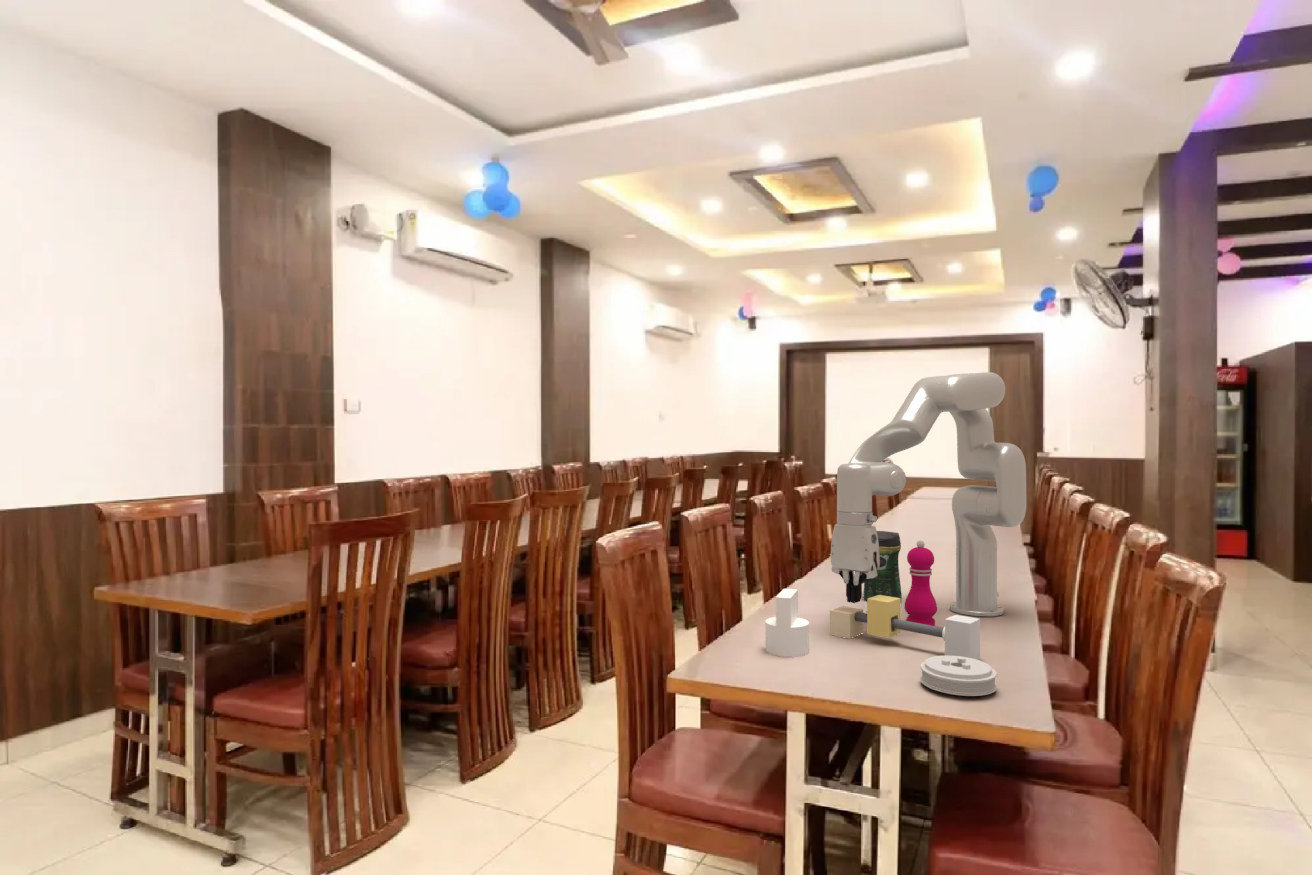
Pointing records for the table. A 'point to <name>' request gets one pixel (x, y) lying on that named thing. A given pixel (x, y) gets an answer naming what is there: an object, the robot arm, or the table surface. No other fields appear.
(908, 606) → the pepper mill
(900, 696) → the table surface
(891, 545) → the coffee jar
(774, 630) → the base with upright slab
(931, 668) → the lid
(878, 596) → the pale yellow upright block
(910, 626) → the slider rail
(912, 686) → the table surface
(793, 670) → the table surface
